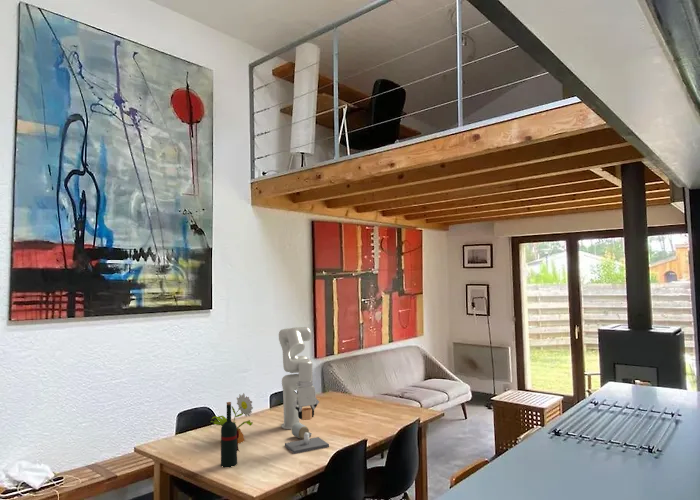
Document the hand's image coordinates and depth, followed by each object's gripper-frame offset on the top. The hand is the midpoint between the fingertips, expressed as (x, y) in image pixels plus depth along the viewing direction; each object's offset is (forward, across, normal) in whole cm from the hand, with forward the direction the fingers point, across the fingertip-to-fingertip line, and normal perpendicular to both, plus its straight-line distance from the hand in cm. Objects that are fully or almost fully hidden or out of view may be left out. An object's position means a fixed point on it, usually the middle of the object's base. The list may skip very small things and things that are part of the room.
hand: (306, 417), depth 261 cm
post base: (+15, 0, 0) cm, 15 cm away
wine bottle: (+16, -42, -4) cm, 45 cm away
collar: (+1, 0, 0) cm, 1 cm away
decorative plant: (+16, -34, +31) cm, 49 cm away
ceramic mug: (+16, +4, +16) cm, 23 cm away
